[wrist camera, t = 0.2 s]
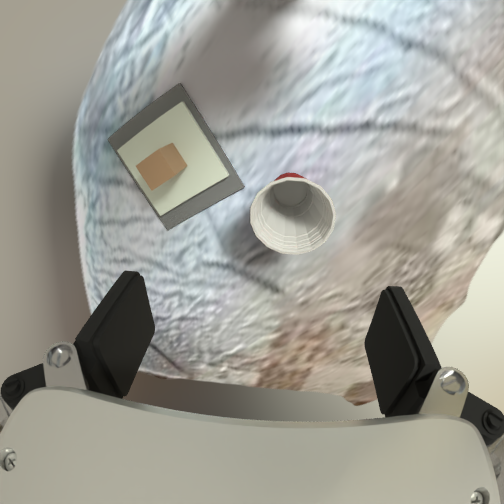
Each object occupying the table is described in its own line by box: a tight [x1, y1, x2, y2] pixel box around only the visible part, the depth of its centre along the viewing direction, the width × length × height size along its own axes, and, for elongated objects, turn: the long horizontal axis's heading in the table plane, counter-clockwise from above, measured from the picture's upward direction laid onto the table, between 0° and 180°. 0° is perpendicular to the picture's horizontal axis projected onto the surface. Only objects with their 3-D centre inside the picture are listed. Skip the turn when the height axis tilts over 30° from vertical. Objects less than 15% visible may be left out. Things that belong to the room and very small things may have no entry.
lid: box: [117, 102, 229, 216], centre depth 41 cm, size 14×14×7 cm
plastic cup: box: [250, 173, 336, 255], centre depth 41 cm, size 11×11×12 cm
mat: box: [108, 83, 245, 230], centre depth 44 cm, size 20×16×1 cm
